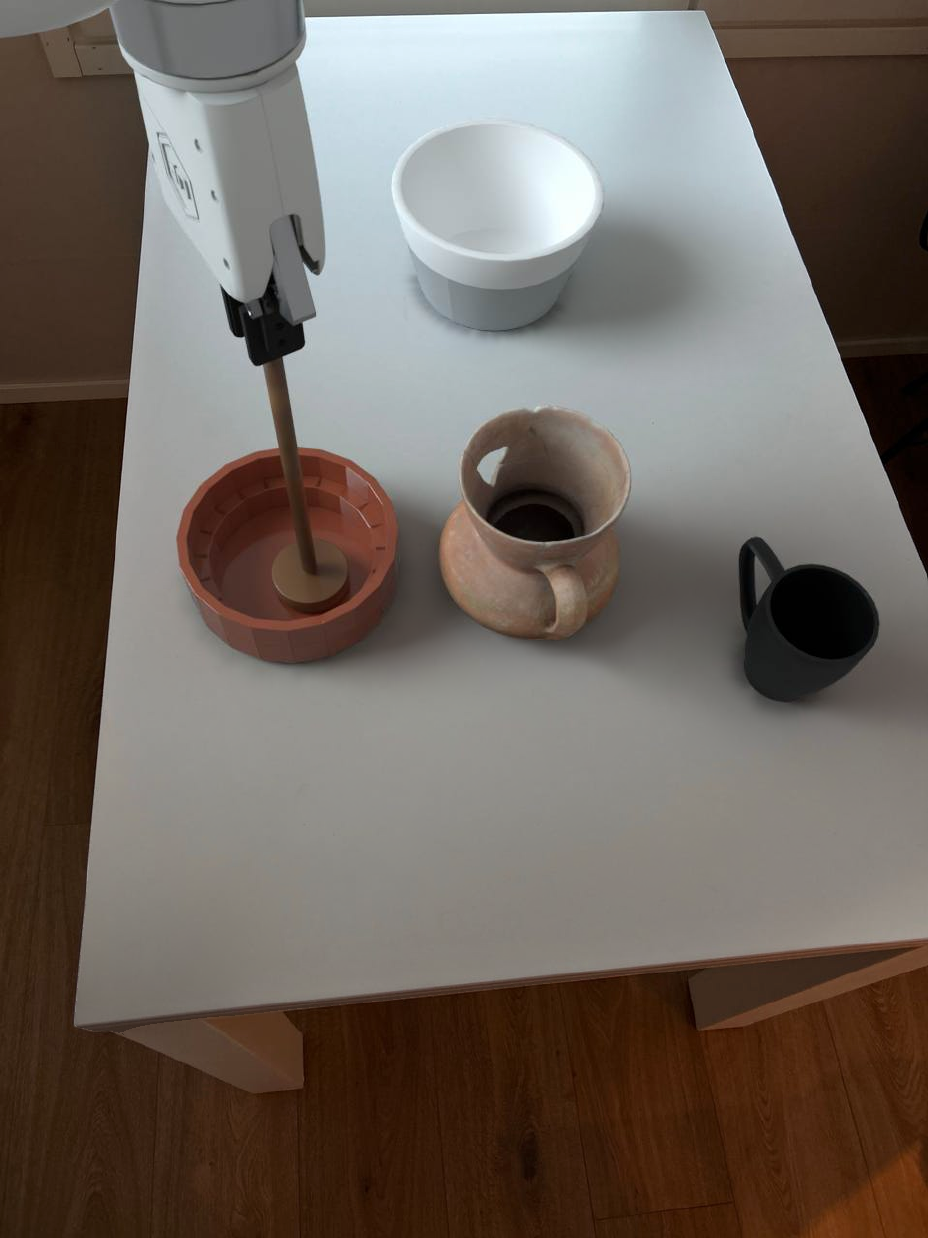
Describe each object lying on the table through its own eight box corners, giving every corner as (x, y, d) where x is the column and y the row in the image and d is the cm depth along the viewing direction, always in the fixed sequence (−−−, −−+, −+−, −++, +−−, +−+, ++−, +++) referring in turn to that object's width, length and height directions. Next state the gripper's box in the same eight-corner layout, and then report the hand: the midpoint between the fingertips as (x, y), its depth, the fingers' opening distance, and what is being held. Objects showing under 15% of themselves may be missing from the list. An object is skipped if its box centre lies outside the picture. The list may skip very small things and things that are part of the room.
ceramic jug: (422, 502, 83) (423, 389, 70) (585, 482, 85) (615, 368, 72) (460, 692, 74) (469, 602, 62) (640, 665, 76) (684, 572, 64)
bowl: (621, 316, 94) (644, 225, 85) (443, 375, 90) (446, 285, 80) (531, 194, 102) (543, 97, 93) (363, 242, 98) (357, 146, 88)
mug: (762, 574, 81) (802, 508, 73) (850, 692, 76) (904, 636, 68) (680, 610, 79) (712, 547, 70) (765, 734, 74) (810, 682, 66)
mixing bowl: (247, 702, 73) (235, 667, 68) (160, 542, 80) (142, 499, 74) (435, 606, 78) (437, 567, 73) (338, 462, 84) (333, 417, 79)
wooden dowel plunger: (295, 625, 75) (225, 318, 47) (261, 568, 78) (175, 243, 50) (362, 592, 77) (334, 276, 49) (327, 537, 79) (281, 206, 51)
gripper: (43, -75, 40) (149, 275, 56) (201, 142, 34) (269, 464, 50) (211, -116, 42) (267, 233, 58) (388, 82, 36) (395, 410, 52)
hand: (268, 338), depth 54 cm, fingers closed on wooden dowel plunger
